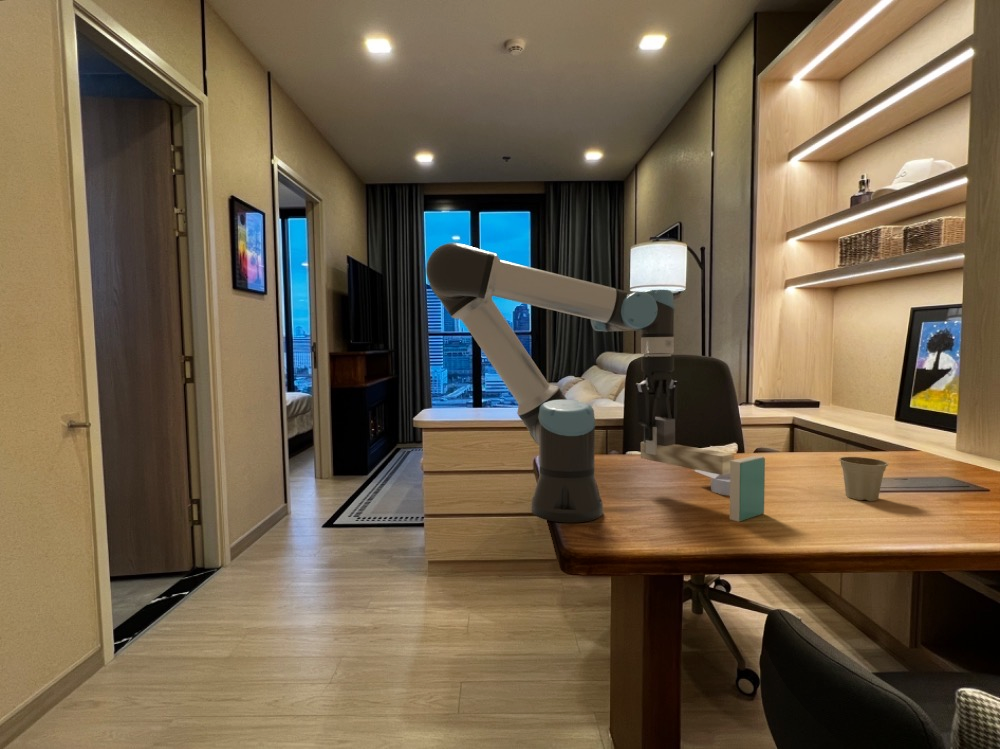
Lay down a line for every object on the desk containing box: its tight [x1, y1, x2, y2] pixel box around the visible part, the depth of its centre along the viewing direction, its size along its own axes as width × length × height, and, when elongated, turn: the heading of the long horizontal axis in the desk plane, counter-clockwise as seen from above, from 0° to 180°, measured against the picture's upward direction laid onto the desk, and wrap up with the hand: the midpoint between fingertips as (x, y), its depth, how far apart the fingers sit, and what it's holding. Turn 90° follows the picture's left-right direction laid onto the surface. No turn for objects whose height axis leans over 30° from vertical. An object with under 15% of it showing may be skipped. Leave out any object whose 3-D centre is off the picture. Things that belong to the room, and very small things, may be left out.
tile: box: [729, 454, 766, 523], centre depth 111 cm, size 9×2×12 cm, turn 125°
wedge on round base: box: [694, 469, 730, 497], centre depth 132 cm, size 9×7×13 cm
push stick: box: [640, 416, 735, 475], centre depth 123 cm, size 22×4×10 cm, turn 35°
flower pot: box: [838, 456, 889, 502], centre depth 124 cm, size 9×9×9 cm
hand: (657, 452), depth 129 cm, fingers closed on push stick, 4 cm apart
